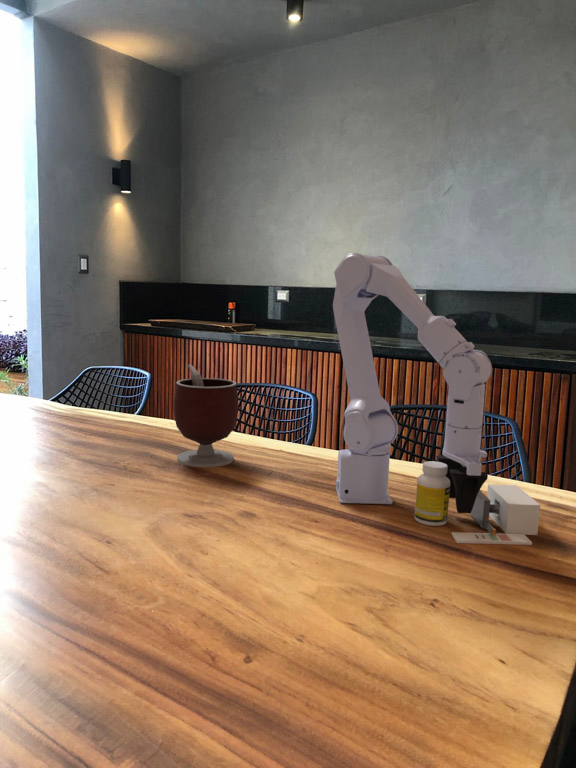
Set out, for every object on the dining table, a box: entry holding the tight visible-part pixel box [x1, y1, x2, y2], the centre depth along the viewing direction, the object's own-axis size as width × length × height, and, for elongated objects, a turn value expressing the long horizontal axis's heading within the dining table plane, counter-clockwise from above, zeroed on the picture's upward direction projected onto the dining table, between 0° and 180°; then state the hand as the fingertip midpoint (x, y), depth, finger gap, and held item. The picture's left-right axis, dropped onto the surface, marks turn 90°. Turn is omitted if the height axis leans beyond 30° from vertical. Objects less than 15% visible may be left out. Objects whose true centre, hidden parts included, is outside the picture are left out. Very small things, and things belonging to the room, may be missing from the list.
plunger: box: [469, 489, 500, 536], centre depth 101 cm, size 8×11×5 cm
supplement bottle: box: [413, 460, 450, 527], centre depth 103 cm, size 5×5×10 cm
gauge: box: [451, 484, 541, 546], centre depth 101 cm, size 14×14×5 cm
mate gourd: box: [173, 364, 239, 468], centre depth 135 cm, size 16×14×20 cm
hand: (457, 504), depth 103 cm, fingers open, 7 cm apart
